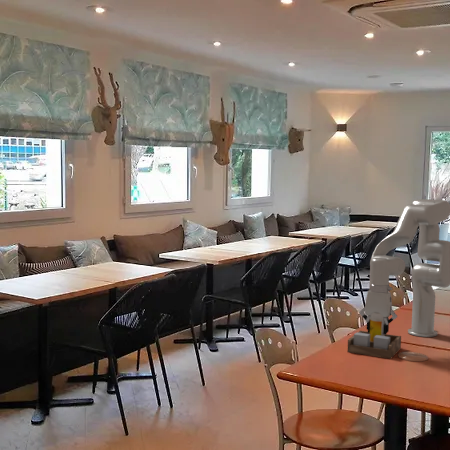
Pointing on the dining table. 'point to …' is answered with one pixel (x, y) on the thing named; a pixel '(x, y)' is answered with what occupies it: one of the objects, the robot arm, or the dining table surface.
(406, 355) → the coaster
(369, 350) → the rack
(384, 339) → the offcut
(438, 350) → the dining table surface
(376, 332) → the beer can
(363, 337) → the offcut
